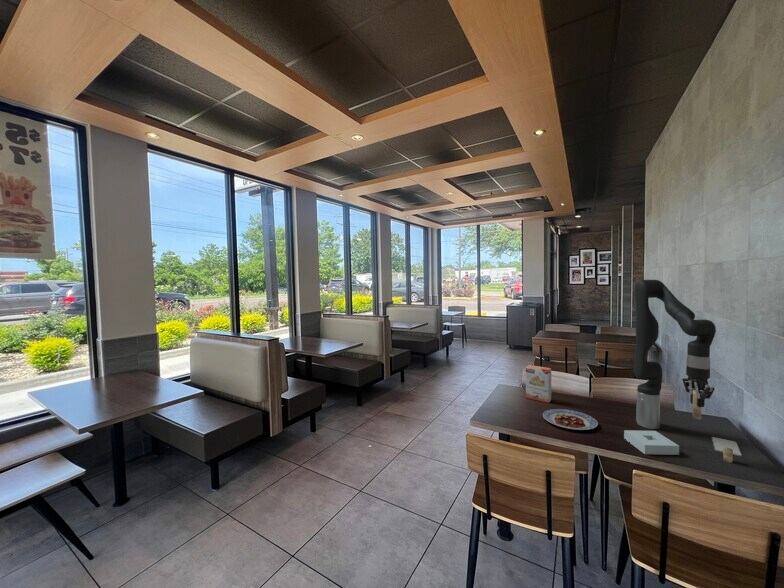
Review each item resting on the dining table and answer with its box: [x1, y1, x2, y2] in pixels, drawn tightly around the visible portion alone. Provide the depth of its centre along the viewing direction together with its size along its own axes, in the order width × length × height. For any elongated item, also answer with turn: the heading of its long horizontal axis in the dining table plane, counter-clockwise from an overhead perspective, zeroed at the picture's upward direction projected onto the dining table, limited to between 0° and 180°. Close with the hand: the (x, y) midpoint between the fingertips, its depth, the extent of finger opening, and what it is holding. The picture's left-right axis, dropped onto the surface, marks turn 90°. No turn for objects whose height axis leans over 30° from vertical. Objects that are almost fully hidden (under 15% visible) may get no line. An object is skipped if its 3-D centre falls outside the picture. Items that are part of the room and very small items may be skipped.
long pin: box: [691, 390, 703, 420], centre depth 141 cm, size 3×3×12 cm
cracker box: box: [525, 364, 552, 404], centre depth 207 cm, size 14×6×21 cm, turn 48°
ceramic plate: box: [542, 408, 599, 431], centre depth 174 cm, size 26×26×3 cm
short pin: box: [722, 447, 734, 464], centre depth 135 cm, size 3×3×5 cm
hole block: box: [623, 429, 680, 456], centre depth 148 cm, size 14×14×4 cm
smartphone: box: [711, 436, 743, 457], centre depth 146 cm, size 8×1×15 cm
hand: (697, 405), depth 141 cm, fingers closed on long pin, 2 cm apart
